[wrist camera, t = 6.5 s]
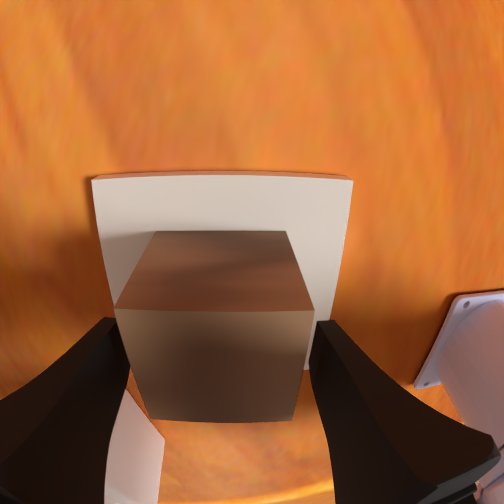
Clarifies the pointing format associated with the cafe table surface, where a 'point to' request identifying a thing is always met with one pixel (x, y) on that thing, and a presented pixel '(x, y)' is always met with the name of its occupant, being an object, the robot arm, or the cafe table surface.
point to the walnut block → (217, 326)
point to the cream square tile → (227, 218)
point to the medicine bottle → (133, 457)
